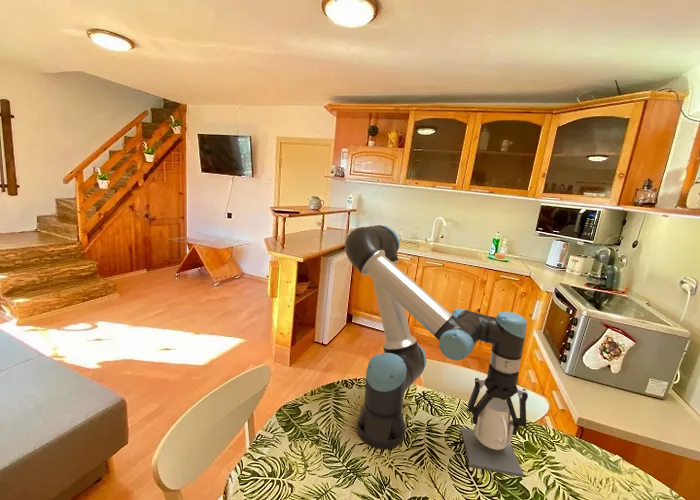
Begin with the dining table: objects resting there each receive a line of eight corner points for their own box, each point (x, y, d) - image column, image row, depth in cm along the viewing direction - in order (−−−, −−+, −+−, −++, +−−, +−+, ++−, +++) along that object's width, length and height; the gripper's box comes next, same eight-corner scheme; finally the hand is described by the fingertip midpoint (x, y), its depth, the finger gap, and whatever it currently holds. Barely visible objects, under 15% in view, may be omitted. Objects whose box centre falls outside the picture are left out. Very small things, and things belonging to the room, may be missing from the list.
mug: (515, 461, 85) (522, 423, 83) (483, 457, 86) (489, 418, 84) (500, 429, 97) (506, 395, 94) (472, 426, 98) (477, 391, 95)
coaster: (469, 466, 86) (470, 464, 86) (460, 429, 100) (460, 427, 100) (523, 477, 84) (523, 474, 84) (506, 437, 98) (506, 435, 97)
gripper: (464, 365, 87) (454, 436, 91) (549, 384, 80) (534, 459, 84) (464, 352, 94) (455, 419, 98) (542, 369, 87) (529, 439, 91)
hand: (491, 437), depth 91 cm, fingers closed on mug, 8 cm apart
